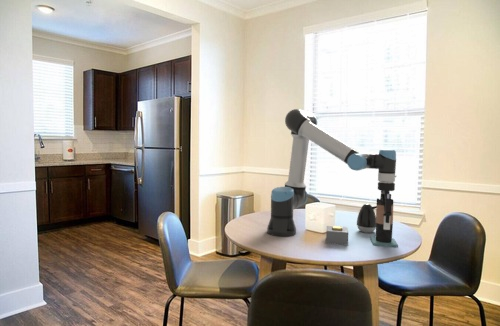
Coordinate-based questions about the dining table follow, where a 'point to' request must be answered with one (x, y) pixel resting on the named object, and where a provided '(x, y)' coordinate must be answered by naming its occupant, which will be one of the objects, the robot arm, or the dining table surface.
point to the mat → (391, 244)
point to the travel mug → (381, 233)
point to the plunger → (337, 228)
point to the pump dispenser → (366, 219)
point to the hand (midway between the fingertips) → (384, 226)
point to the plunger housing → (337, 236)
